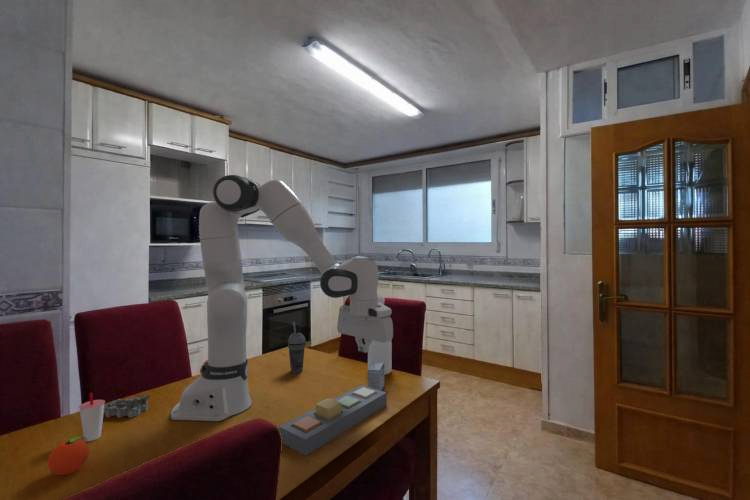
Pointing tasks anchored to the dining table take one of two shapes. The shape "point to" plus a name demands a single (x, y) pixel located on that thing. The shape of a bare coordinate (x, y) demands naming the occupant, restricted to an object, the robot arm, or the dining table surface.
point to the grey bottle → (380, 351)
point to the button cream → (364, 393)
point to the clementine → (68, 456)
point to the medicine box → (376, 376)
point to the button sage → (348, 402)
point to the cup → (92, 418)
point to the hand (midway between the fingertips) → (363, 351)
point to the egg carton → (127, 407)
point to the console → (331, 422)
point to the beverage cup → (296, 351)
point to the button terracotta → (306, 424)
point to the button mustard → (328, 409)
